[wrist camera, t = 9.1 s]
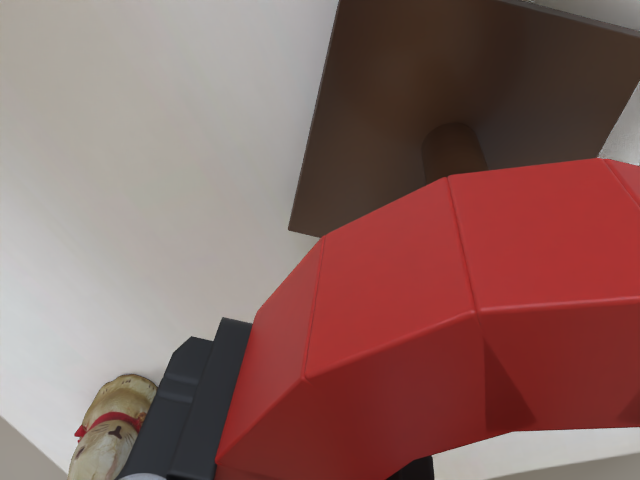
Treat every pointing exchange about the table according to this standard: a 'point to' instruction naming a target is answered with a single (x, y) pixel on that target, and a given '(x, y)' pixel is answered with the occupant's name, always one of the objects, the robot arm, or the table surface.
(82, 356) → the table surface
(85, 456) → the chocolate bunny
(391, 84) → the peg stand
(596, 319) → the tape roll
